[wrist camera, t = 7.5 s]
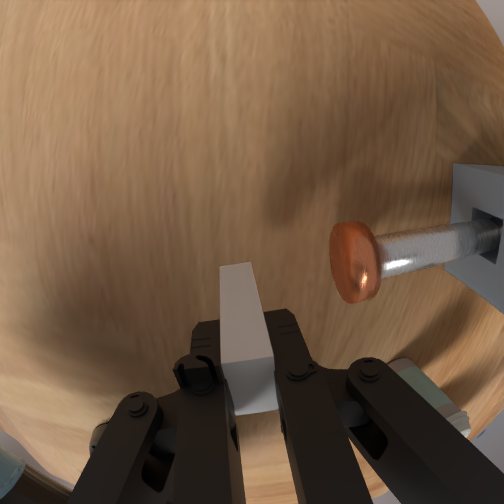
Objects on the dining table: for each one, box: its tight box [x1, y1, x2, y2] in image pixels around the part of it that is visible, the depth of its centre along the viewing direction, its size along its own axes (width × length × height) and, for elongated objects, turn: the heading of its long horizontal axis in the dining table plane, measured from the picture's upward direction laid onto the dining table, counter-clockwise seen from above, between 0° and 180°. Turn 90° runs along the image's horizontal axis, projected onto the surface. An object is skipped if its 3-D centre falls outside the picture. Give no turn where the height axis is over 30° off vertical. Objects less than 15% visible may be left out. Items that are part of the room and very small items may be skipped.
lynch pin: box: [329, 217, 503, 304], centre depth 16 cm, size 15×5×5 cm, turn 97°
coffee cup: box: [387, 358, 471, 438], centre depth 21 cm, size 8×9×12 cm
